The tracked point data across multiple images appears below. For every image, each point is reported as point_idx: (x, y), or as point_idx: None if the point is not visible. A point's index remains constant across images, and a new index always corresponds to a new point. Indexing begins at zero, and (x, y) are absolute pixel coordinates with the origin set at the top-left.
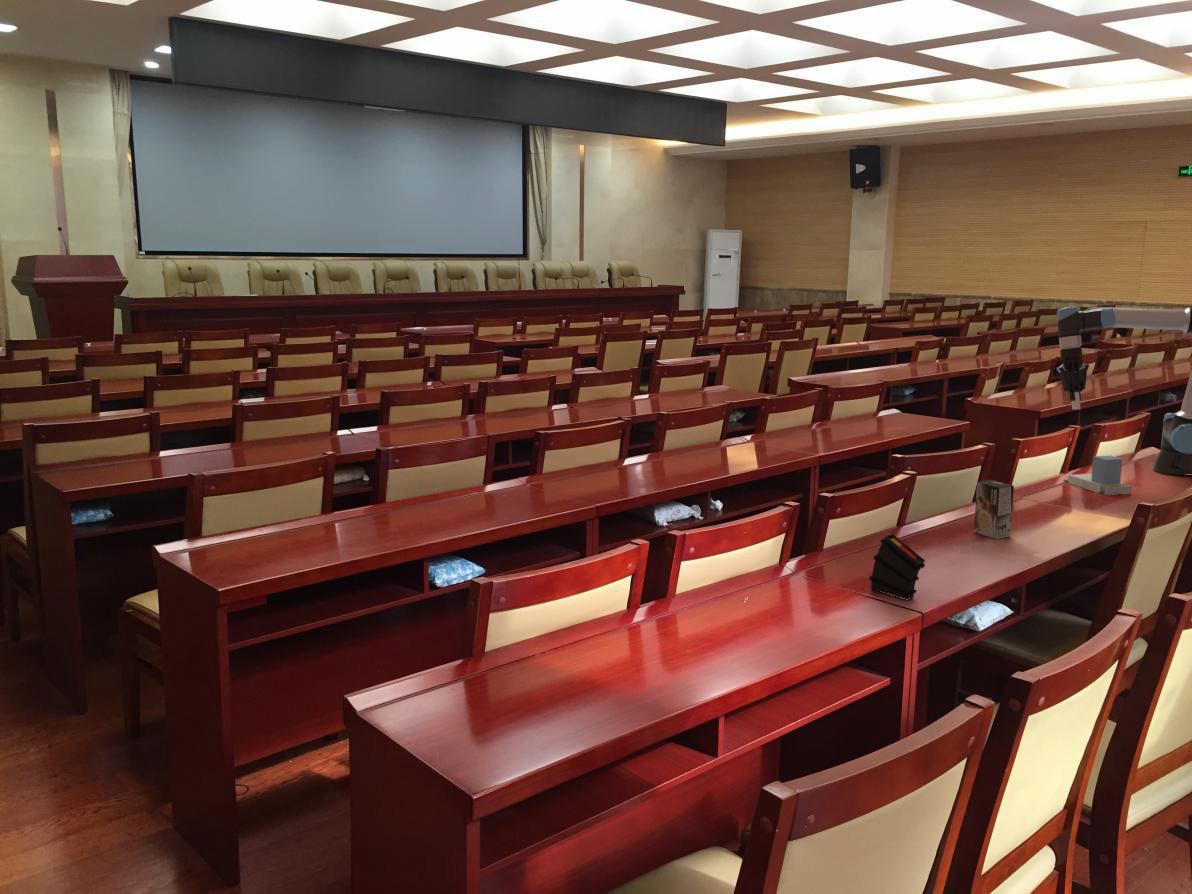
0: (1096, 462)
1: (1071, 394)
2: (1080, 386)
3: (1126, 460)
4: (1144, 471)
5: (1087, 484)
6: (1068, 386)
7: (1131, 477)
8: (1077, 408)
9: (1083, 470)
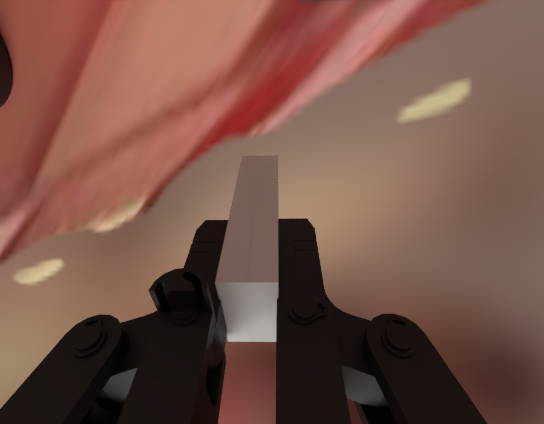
0: None
1: (321, 283)
2: (142, 378)
3: (42, 212)
4: (44, 79)
5: None
6: (443, 414)
7: (123, 3)
8: (272, 159)
9: (218, 137)
